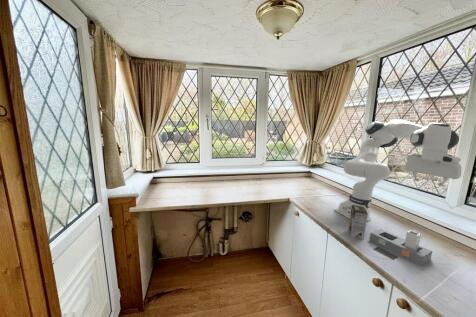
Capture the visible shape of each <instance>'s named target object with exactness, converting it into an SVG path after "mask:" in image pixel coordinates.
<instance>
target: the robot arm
mask: <svg viewBox="0 0 476 317" xmlns="http://www.w3.org/2000/svg"><path fill="white" fill-rule="evenodd" d="M365 133H366V134H367V135H368V136H369V138H366V139H364V140H363V142H362V144H361V145H360V149H359V152H358V154H357V156H355V157H354V158H352V159H348V160H346V161H345V162H344V165H343V171H344V173H345V175H349V176H353V177H359V178H363V179H364V180H362V181H358V182H356V183H354V184H353V186H352V194H349V195H348V199H346V200H343V201H342V202H340V203H339V204H338V206H336V207H335V208H334V211H335V212H337V213H338V214H340V215H342V216H344V217H346V218H347V219H349V220H350V215H351V208H352V205H356V206H361V207H364V208H365V210H366V211H367V213H368V214H367V221H366V222H369V221H371V220H372V218H371V207H372V200H373V199H372V196H373V191H374V188H375V186H376V185H377V184H378V183H380V182H381V181H384V180H386V179H388V177H389V176H390V173H391V172H390V170H391V169H390V168H389V166H388V164H384V163H382V162H377V160H378V157H379V150H380V149H379V148H381V149H383V148H390V147H393V146H394V145H396V144H397V143H398V140H399V139H410V140H409V141H410V144H411V145H412V146H413V147H415V148H422V150H421V154H417V153H416V154H415V153H410V154H408V155H406V163H405V165H404V170H405V171H408V172H411V174H412V176H413V181H414V182H420V177H418V176H417V175H418V173H419V174H422V175H428V176H429V175H430V176H435V177H440V178H442V181H439V182H438V184H437V185H438V187H442V188H443V187H444V185H445V183H446V182H448V181H449V179H451V180H452V179H453V180H458V179H460V178H461V176H462V164H460V163H461V159H462V158H460V157H458V156H455V155H453V154H450V153H448V151H449V150H451V149H453V148H454V147H455V146H457V145H458V144H459V141H460V137H459V135H458V133H457V132H456V131H455V130H452V125H451V124H449V123H446V122H445V123H444V122H429V124H428V125H427V126H422V125H420V124H417V123H413V122H410V121H408V120H404V119H392V120H390V121H389V122H387V123H385V122H384V121H382V120H381V121H377V120H375V121H371V122H370V123H369V124H368V125H366V127H365ZM370 137H371V138H370Z"/></svg>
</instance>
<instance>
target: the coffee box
mask: <svg viewBox="0 0 476 317" xmlns="http://www.w3.org/2000/svg"><path fill="white" fill-rule="evenodd" d="M367 214H368V213H367V211H366V210H365V208H364V207H361V206H356V205H352V208H351V215H350V219H349V222H348V233H349V235H350V237H351V238H355V239H359V240H364V238H365V231H366V226H367V222H368V221H367Z"/></svg>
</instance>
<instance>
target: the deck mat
mask: <svg viewBox="0 0 476 317" xmlns="http://www.w3.org/2000/svg"><path fill="white" fill-rule="evenodd" d="M372 250H374V251H375V252H378V253H379V254H381V255H383V256H385V257H387V258H389V259H391V260H392V261H394V260H396V259H398V258H399V255H398V256H397V254H395V253H393V252H391V251H390V252H389V250H387V249H385V248H383V247H381V246H377V247H374V248H372Z"/></svg>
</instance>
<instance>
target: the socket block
mask: <svg viewBox="0 0 476 317" xmlns="http://www.w3.org/2000/svg"><path fill="white" fill-rule="evenodd" d="M369 234H370V235H369V241H371V242H372V243H374V244H376V245H378V246H379V247H381V248H383V249H385V250H387V251H390V252H391V253H393V254H395V255H398V256H400V257H402V258H404V259H405V260H408V261H410V262H412V263H414V264H417V265H418V266H421V267H422V266H423V265H424V264H426V263H428V262H429V261H431V259H432V255H433V250H432V249H429V248H426V247H425V246H421V245H420V244H419V248H418V252H415V251H413V250H411V249H409V248H407V247H404V244H405V239H406V238H403V237H401V236H398V235H396V234H394V233H391V232H389V231H387V230H385V229H383V228H379V229H377V230H374V231H371V232H370V233H369Z"/></svg>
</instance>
